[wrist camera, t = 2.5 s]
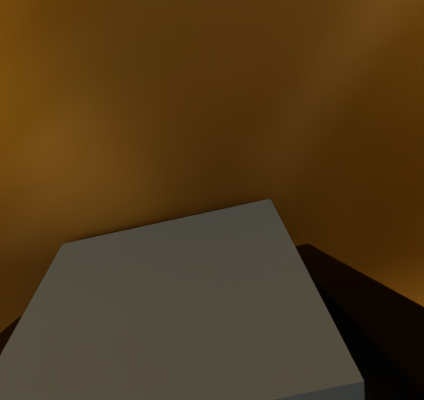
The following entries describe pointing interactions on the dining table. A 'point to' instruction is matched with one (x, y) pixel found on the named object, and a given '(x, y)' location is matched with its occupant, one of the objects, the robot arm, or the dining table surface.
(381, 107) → the dining table surface
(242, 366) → the stub
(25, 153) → the dining table surface
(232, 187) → the dining table surface
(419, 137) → the dining table surface
